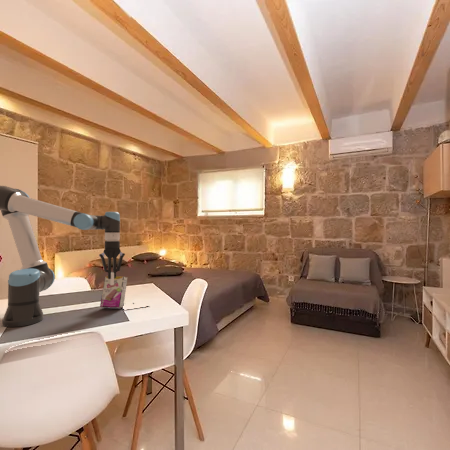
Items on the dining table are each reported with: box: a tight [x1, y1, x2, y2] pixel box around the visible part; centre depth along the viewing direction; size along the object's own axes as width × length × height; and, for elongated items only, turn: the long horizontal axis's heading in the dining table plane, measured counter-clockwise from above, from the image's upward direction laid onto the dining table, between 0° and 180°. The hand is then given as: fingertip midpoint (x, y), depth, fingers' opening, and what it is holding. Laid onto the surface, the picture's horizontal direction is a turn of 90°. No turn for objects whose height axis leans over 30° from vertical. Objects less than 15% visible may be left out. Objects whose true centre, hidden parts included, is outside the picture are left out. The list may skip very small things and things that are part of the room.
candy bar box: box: [99, 275, 128, 309], centre depth 149 cm, size 11×5×16 cm, turn 84°
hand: (111, 284), depth 146 cm, fingers closed
